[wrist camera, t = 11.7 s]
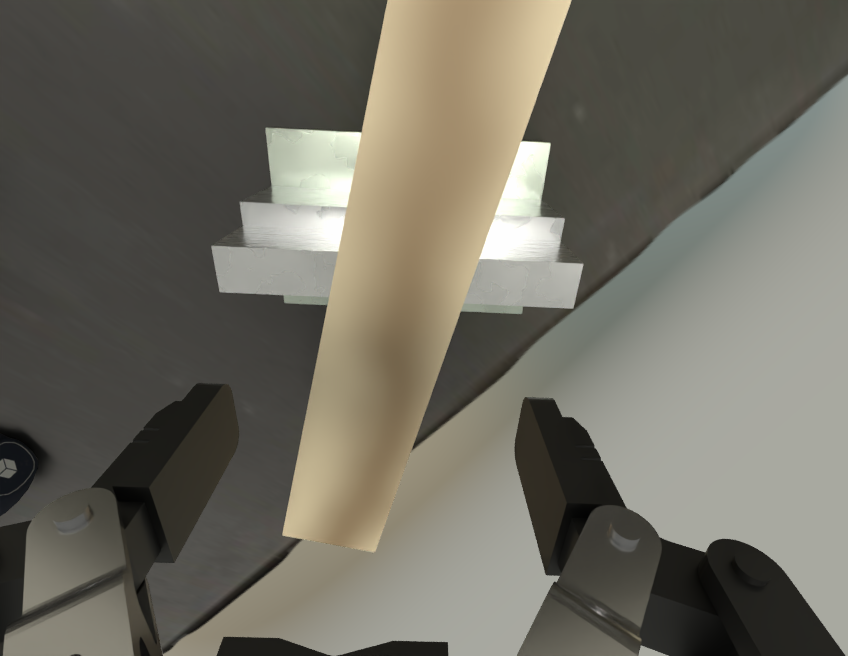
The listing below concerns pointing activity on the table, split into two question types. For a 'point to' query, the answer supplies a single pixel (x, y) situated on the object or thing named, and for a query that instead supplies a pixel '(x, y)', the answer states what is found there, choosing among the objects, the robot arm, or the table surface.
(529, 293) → the stand
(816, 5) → the table surface
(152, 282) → the table surface
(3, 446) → the headphones
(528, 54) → the pine rod
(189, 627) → the table surface
